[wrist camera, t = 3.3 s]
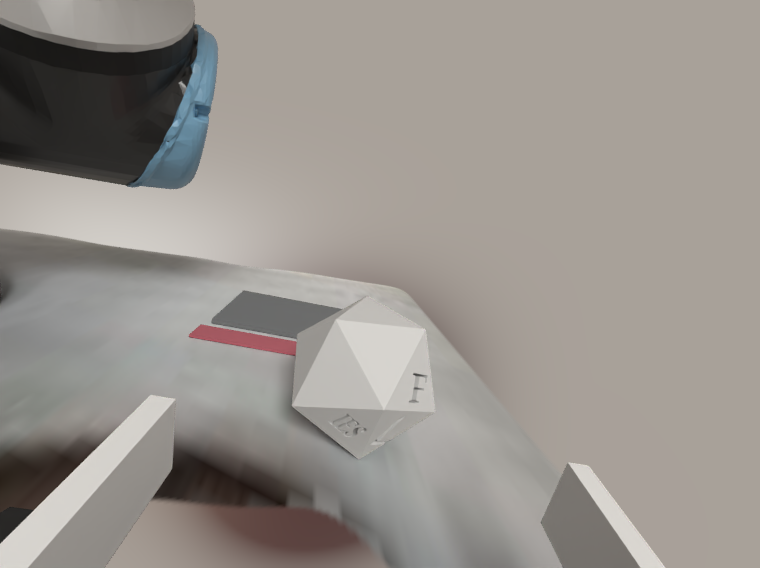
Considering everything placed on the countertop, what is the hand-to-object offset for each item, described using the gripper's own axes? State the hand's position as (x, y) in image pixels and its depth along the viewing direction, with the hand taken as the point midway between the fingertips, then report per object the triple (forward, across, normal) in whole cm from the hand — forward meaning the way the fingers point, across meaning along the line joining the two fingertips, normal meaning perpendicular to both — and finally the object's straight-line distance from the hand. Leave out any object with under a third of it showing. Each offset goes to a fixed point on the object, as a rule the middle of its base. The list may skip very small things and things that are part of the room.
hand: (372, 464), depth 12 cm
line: (+17, -5, -6) cm, 19 cm away
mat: (+23, -5, -6) cm, 25 cm away
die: (+9, 0, -6) cm, 11 cm away
